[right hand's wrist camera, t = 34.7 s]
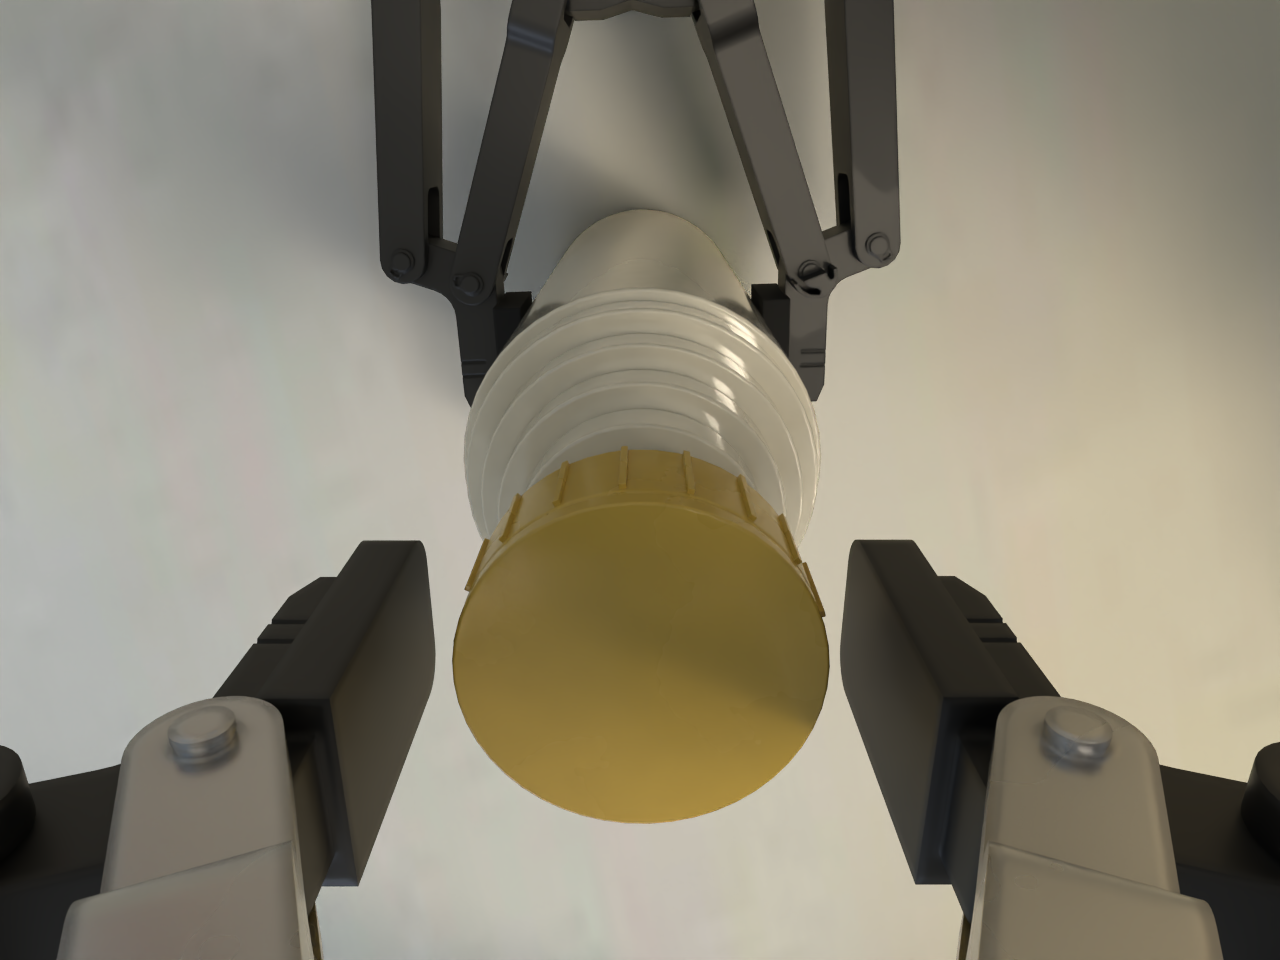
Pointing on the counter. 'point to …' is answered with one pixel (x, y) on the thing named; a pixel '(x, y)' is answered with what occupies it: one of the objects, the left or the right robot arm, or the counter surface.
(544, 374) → the bottle
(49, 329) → the counter surface
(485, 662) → the cap
